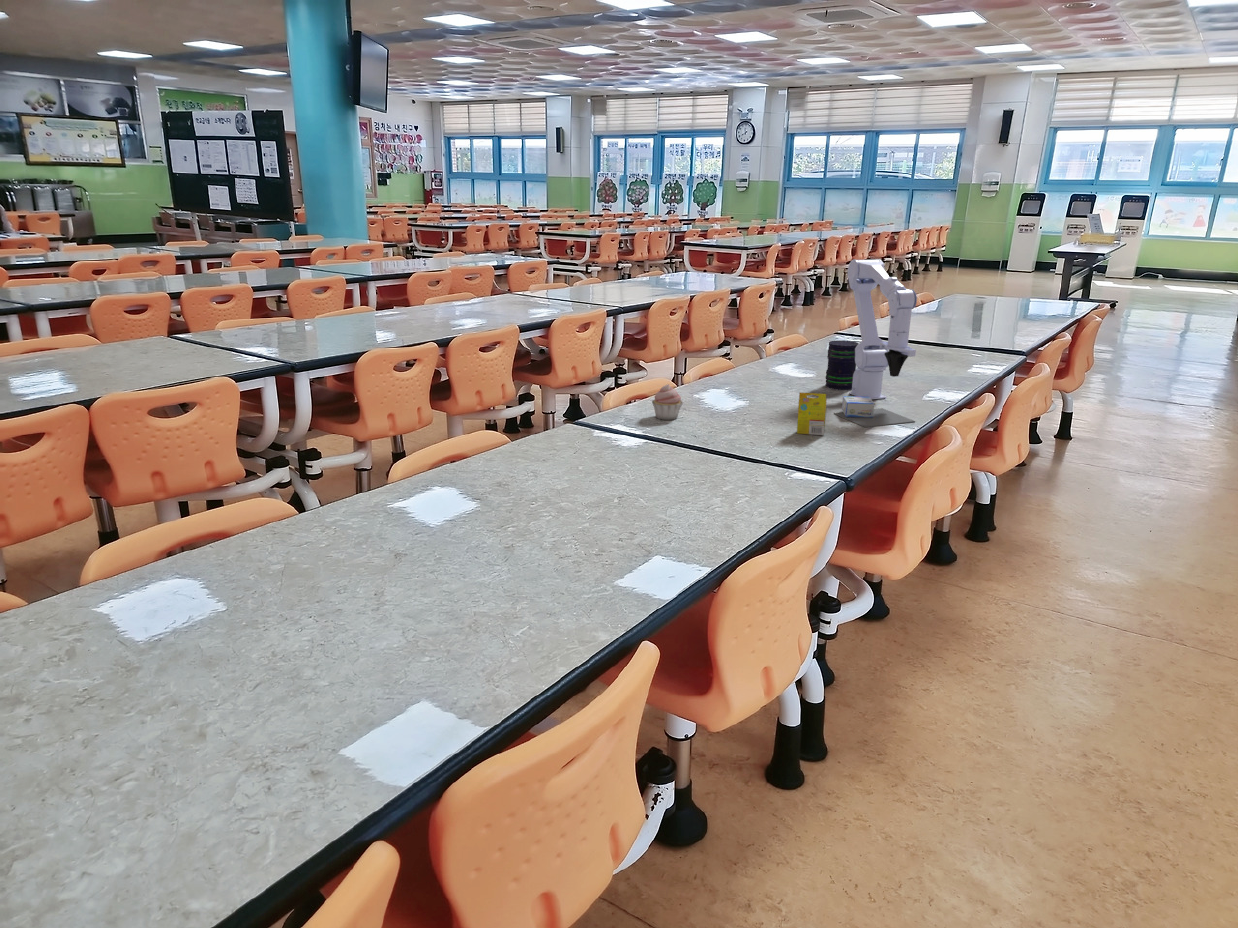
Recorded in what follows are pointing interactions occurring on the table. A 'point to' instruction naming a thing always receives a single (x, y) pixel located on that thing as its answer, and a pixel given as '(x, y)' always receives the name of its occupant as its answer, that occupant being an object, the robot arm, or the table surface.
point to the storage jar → (840, 365)
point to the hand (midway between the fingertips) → (894, 376)
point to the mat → (877, 418)
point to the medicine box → (857, 406)
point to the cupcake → (667, 403)
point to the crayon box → (811, 414)
